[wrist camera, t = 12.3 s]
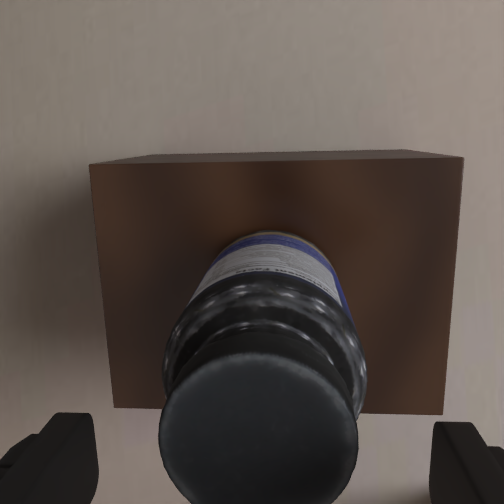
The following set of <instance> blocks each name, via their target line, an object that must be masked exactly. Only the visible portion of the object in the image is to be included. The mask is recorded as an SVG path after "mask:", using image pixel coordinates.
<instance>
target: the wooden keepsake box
mask: <svg viewBox="0 0 504 504" xmlns="http://www.w3.org/2000/svg"><path fill="white" fill-rule="evenodd" d="M463 168H464V158H463V157H458V156H450V155H443V154H435V153H428V152H420V151H413V150H357V151H307V152H258V153H208V154H159V155H147V156H140V157H134V158H127V159H121V160H114V161H108V162H101V163H95V164H90V165H89V172H90V182H91V191H92V201H93V211H94V220H95V230H96V240H97V249H98V259H99V268H100V278H101V288H102V297H103V307H104V317H105V326H106V336H107V345H108V355H109V365H110V374H111V384H112V394H113V403H114V408H144V409H163V407H164V405H165V403H166V397H165V393H164V390H163V384H162V377H161V375H162V369H161V368H162V363H163V356H164V352H165V347H166V343H167V340H168V339H169V336H170V334H171V330H172V328H173V327H174V325H175V323H176V321H177V320H178V318H179V317H180V315H181V314H182V312H183V311H184V309H185V307H186V305H187V304H188V302H189V301H190V299H191V297H192V295H193V293H194V292H195V290H196V289H197V287H198V285H199V284H200V282H201V279H202V278H203V276H204V275H205V273H206V272H207V271H208V269H209V267H210V266H211V264H212V263H213V261H214V260H215V259H216V257H217V256H218V254H219V253H220V252H221V251H222V250H223V249H224V248H225V247H226V246H228V245H229V244H230V243H231V242H232V241H234V240H235V239H237V238H239V237H241V236H245V235H248V234H251V233H254V232H258V231H263V230H276V231H286V232H289V233H292V234H295V235H298V236H300V237H302V238H304V239H306V240H308V241H310V242H311V243H312V244H314V245H315V246H316V247H317V248H319V249H320V250H321V251H322V252H323V253H324V254H325V256H326V257H327V258H328V259H329V260H330V262H331V264H332V266H333V268H334V270H335V273H336V275H337V277H338V280H339V283H340V285H341V288H342V291H343V294H344V296H345V299H346V302H347V305H348V308H349V310H350V313H351V316H352V319H353V322H354V325H355V328H356V330H357V333H358V336H359V338H360V341H361V344H362V346H363V349H364V352H365V359H366V364H367V380H368V382H367V389H366V396H365V399H364V405H363V407H362V409H361V412H360V413H368V414H413V415H443V407H444V395H445V383H446V371H447V359H448V347H449V335H450V323H451V311H452V299H453V287H454V275H455V263H456V251H457V239H458V228H459V216H460V204H461V192H462V180H463Z"/></svg>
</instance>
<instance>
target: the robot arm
mask: <svg viewBox="0 0 504 504" xmlns="http://www.w3.org/2000/svg"><path fill="white" fill-rule="evenodd" d="M98 477H99V467H98V458H97V450H96V441H95V433H94V424H93V419H92V416H91V415H90V414H89V413H62V412H58V413H56V414H55V415H54V416H53V417H52V418H51V419H50V420H49V422H48V423H47V424H46V425H45V426H44V428H43V429H42V430H41V431H40V433H39V434H31V435H29V436H28V437H26V438H25V439H23V440H22V441H20V442H19V443H17V444H16V445H14V446H13V447H11V448H10V449H9V451H8V452H7V453H6V454H5V455H4V456H3V457H2V459H1V460H0V504H90V503H91V501H92V499H93V497H94V495H95V492H96V488H97V484H98ZM429 491H430V498H431V503H432V504H504V450H503V449H502V448H501V447H495V446H487V445H486V443H485V442H484V440H483V439H482V437H481V435H480V434H479V432H478V431H477V429H476V428H475V426H474V425H473V424H472V423H471V422H435V424H434V428H433V437H432V449H431V462H430V474H429Z"/></svg>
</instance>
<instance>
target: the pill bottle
mask: <svg viewBox="0 0 504 504" xmlns="http://www.w3.org/2000/svg"><path fill="white" fill-rule="evenodd" d="M161 369H162V375H161V377H162V384H163V390H164V393H165V397H166V403H165V405H164V407H163V409H162V413H161V417H160V422H159V433H158V440H159V449H160V454H161V457H162V461H163V465H164V468H165V469H166V471H167V473H168V475H169V477H170V479H171V480H172V482H173V483H174V485H175V486H176V488H177V489H178V490H179V491H180V493H181V494H182V495H183V496H184V497H185V498H187V500H188V501H189V502H190V503H191V504H331V503H333V502H334V500H336V499H337V498H338V496H339V495H340V494H341V493H342V492H343V490H344V489H345V487H346V486H347V484H348V482H349V480H350V478H351V475H352V473H353V470H354V469H355V465H356V461H357V455H358V449H359V448H358V429H357V423H356V421H357V419H358V416H359V414H360V412H361V409H362V407H363V405H364V399H365V396H366V389H367V382H368V380H367V364H366V359H365V352H364V349H363V346H362V344H361V341H360V338H359V336H358V333H357V330H356V328H355V325H354V322H353V319H352V316H351V313H350V310H349V308H348V305H347V302H346V299H345V296H344V294H343V291H342V288H341V285H340V283H339V280H338V277H337V275H336V273H335V270H334V268H333V266H332V264H331V262H330V260H329V259H328V258H327V257H326V256H325V254H324V253H323V252H322V251H321V250H320V249H319V248H317V247H316V246H315V245H314V244H312V243H311V242H310V241H308V240H306V239H304V238H302V237H300V236H298V235H295V234H292V233H289V232H286V231H276V230H263V231H258V232H254V233H251V234H248V235H245V236H241V237H239V238H237V239H235V240H234V241H232V242H231V243H230V244H229V245H228V246H226V247H225V248H224V249H223V250H222V251H221V252H220V253H219V254H218V256H217V257H216V259H215V260H214V261H213V263H212V264H211V266H210V267H209V269H208V271H207V272H206V273H205V275H204V276H203V278H202V279H201V282H200V284H199V285H198V287H197V289H196V290H195V292H194V293H193V295H192V297H191V299H190V301H189V302H188V304H187V305H186V307H185V309H184V311H183V312H182V314H181V315H180V317H179V318H178V320H177V321H176V323H175V325H174V327H173V328H172V330H171V334H170V336H169V339H168V340H167V343H166V347H165V352H164V356H163V363H162V368H161Z"/></svg>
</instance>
